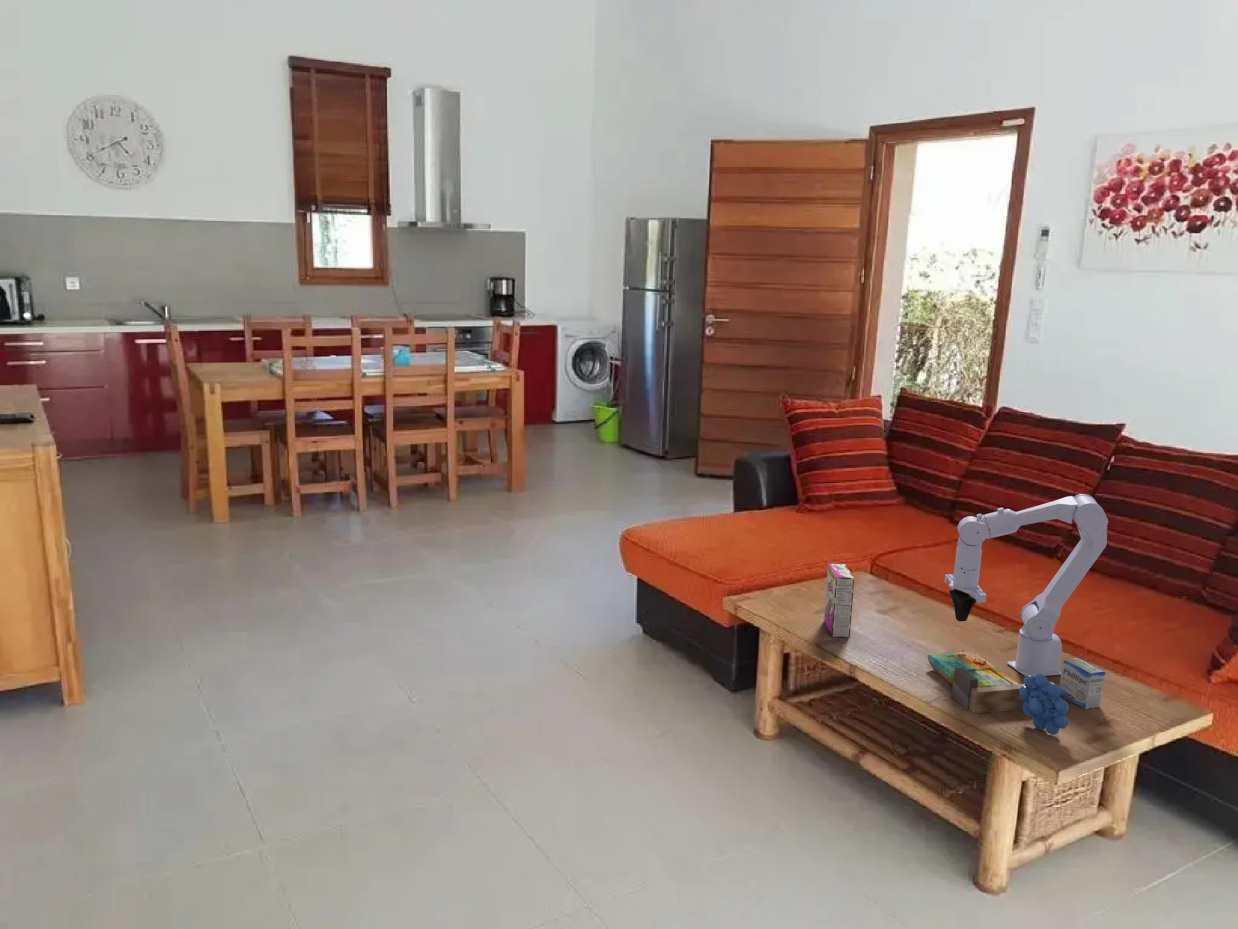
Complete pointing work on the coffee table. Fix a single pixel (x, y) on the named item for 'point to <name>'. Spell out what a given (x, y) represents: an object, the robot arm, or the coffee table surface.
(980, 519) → the robot arm
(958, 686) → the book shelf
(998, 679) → the puzzle game
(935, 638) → the coffee table surface
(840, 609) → the candy bar box
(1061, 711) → the grapes
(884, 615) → the coffee table surface
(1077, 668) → the medicine box
